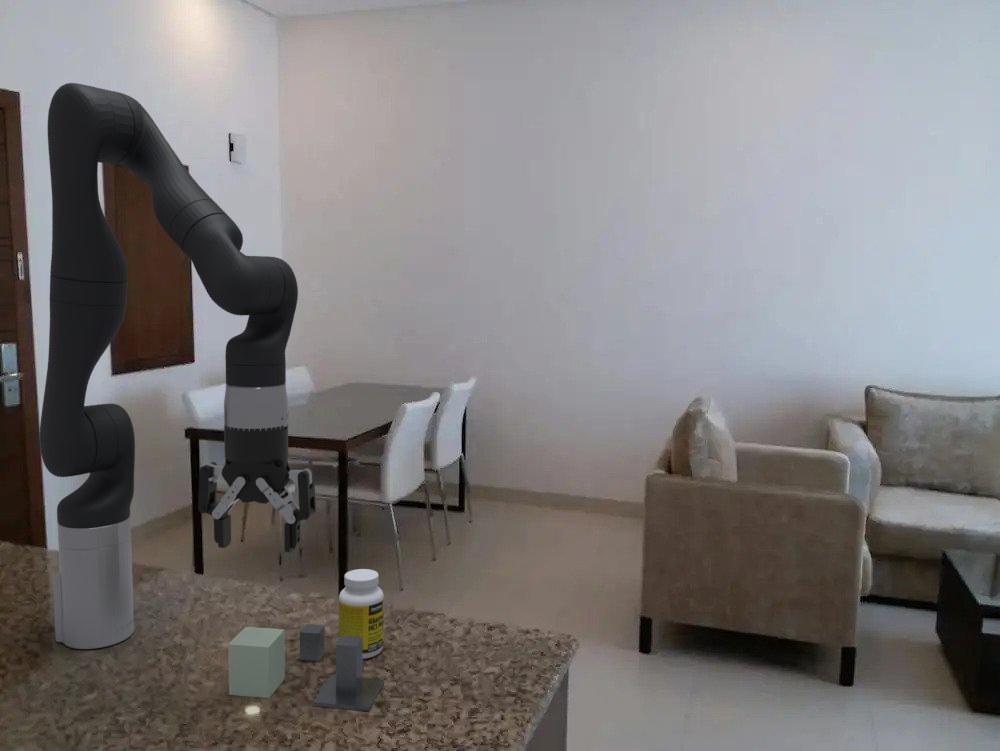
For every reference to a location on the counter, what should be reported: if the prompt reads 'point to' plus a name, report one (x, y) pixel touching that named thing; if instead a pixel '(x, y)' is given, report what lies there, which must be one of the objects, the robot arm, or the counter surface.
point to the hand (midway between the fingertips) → (257, 548)
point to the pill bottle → (362, 610)
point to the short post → (312, 642)
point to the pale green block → (256, 662)
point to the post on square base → (349, 680)
